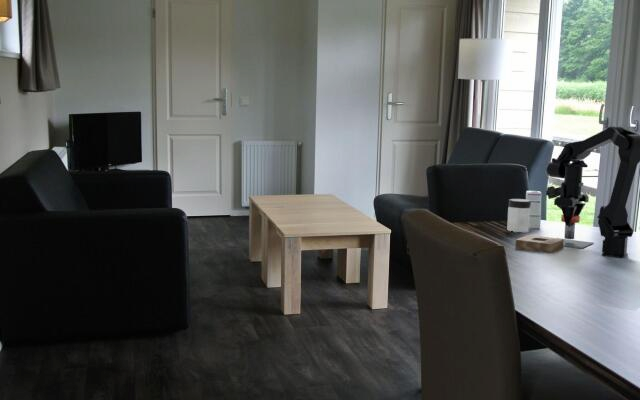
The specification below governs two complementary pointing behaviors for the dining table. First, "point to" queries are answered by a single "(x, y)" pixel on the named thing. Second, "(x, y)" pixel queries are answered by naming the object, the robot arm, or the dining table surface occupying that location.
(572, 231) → the no entry disc
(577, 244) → the mat
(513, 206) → the jar
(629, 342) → the dining table surface
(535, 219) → the syrup box
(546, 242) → the eye block
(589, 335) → the dining table surface
